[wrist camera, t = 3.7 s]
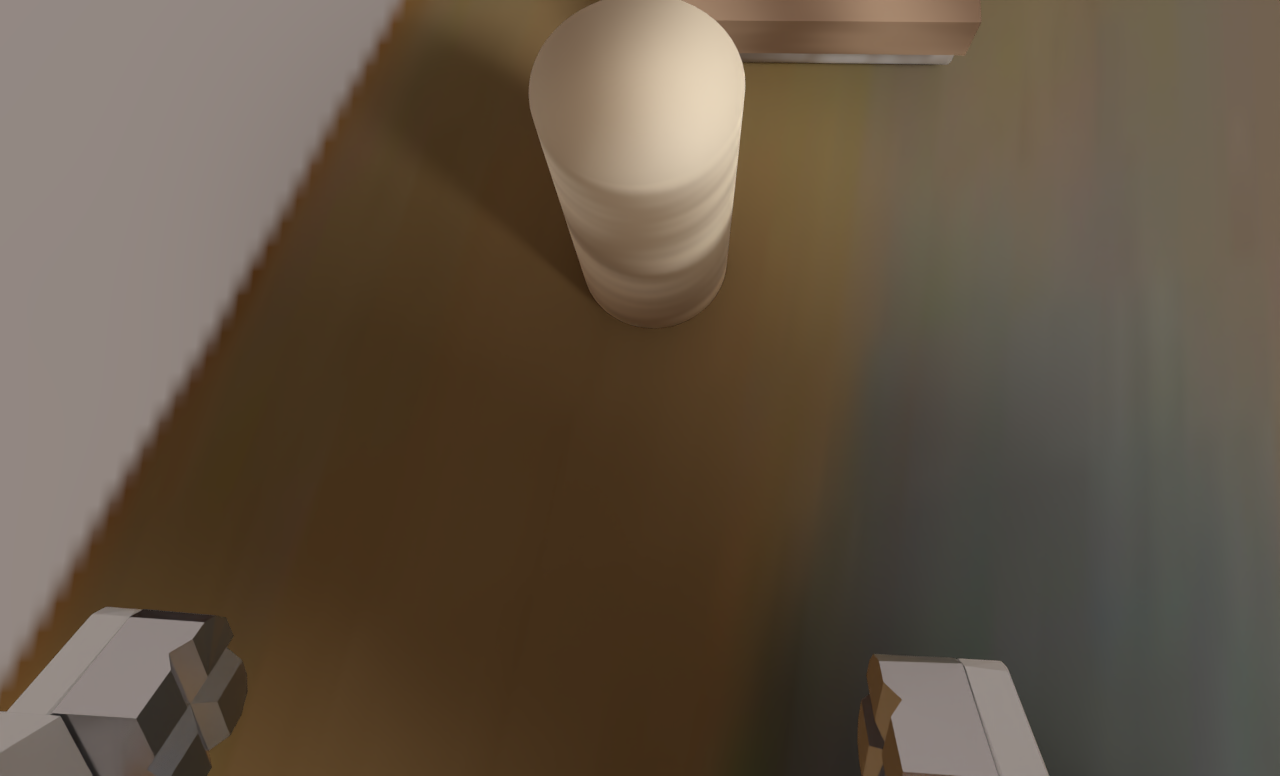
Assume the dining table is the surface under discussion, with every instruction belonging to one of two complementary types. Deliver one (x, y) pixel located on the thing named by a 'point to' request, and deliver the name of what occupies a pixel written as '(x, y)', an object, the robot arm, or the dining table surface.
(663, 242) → the birch roller
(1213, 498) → the dining table surface
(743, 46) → the brown grey block
